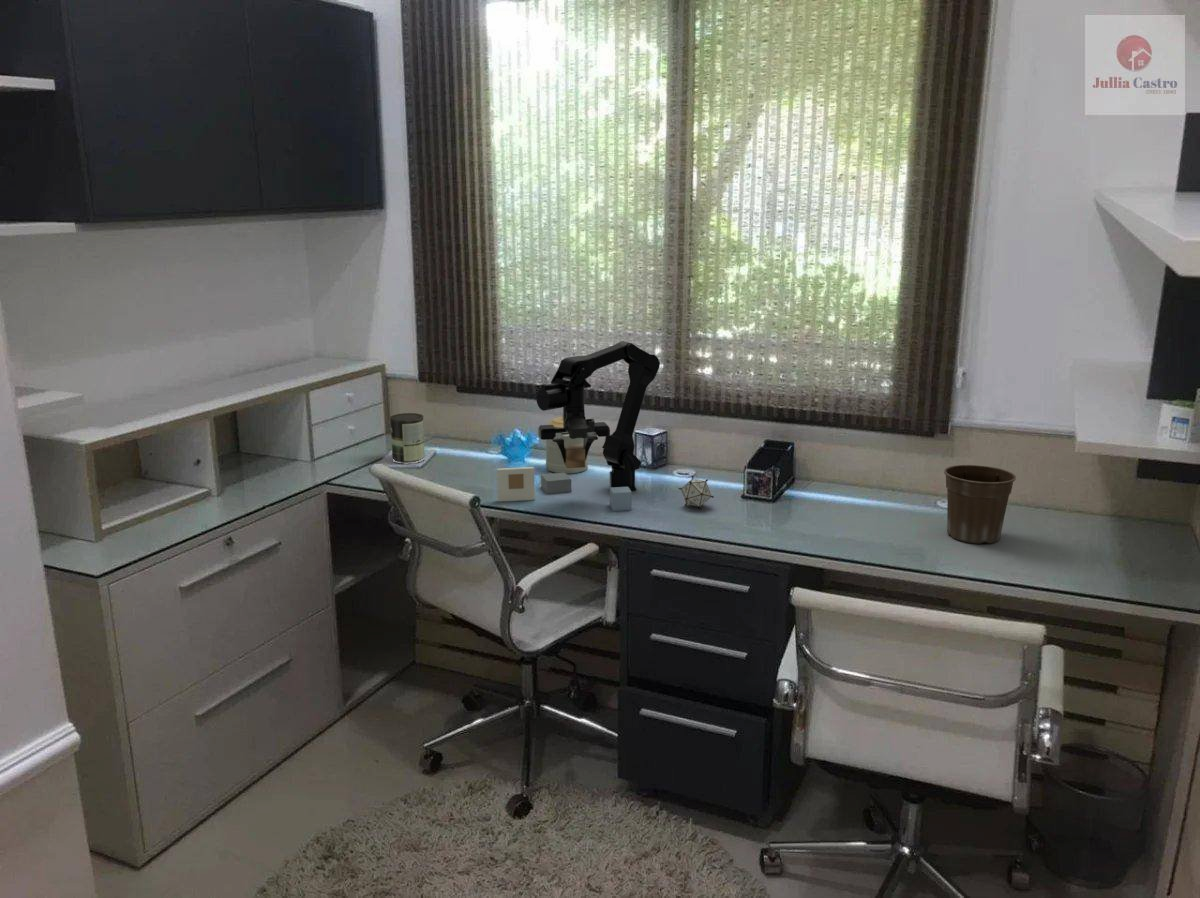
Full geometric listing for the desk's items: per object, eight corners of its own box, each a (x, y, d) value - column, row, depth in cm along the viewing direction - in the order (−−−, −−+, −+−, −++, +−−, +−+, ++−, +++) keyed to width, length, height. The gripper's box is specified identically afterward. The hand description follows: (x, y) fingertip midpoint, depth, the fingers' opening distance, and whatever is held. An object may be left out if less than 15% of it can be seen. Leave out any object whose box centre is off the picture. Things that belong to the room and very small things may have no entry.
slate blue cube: (627, 504, 262) (627, 486, 260) (631, 510, 257) (631, 492, 256) (609, 505, 261) (609, 487, 260) (612, 511, 256) (613, 493, 255)
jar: (538, 471, 292) (537, 414, 288) (556, 461, 304) (556, 406, 299) (578, 476, 287) (577, 418, 283) (595, 465, 299) (594, 409, 294)
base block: (564, 485, 279) (564, 472, 278) (571, 492, 272) (571, 479, 271) (541, 488, 277) (541, 474, 276) (547, 494, 270) (547, 481, 269)
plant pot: (945, 521, 248) (951, 460, 243) (1013, 532, 240) (1020, 469, 236) (931, 540, 234) (937, 476, 230) (1003, 552, 226) (1010, 486, 222)
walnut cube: (581, 462, 265) (581, 444, 264) (585, 467, 261) (585, 449, 259) (564, 463, 264) (563, 445, 263) (566, 468, 260) (566, 450, 258)
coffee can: (387, 464, 301) (385, 419, 297) (397, 455, 311) (395, 412, 307) (420, 464, 300) (418, 420, 296) (429, 456, 310) (427, 413, 306)
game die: (702, 519, 261) (726, 492, 257) (684, 515, 254) (708, 488, 251) (684, 496, 266) (707, 470, 262) (666, 492, 259) (689, 465, 256)
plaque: (534, 498, 266) (533, 467, 264) (534, 500, 265) (534, 468, 263) (497, 500, 265) (496, 468, 262) (498, 501, 263) (497, 470, 261)
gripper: (543, 413, 249) (544, 471, 253) (614, 410, 252) (614, 467, 256) (537, 404, 259) (538, 460, 263) (605, 401, 263) (605, 456, 267)
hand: (574, 461), depth 262 cm, fingers closed on walnut cube, 5 cm apart
